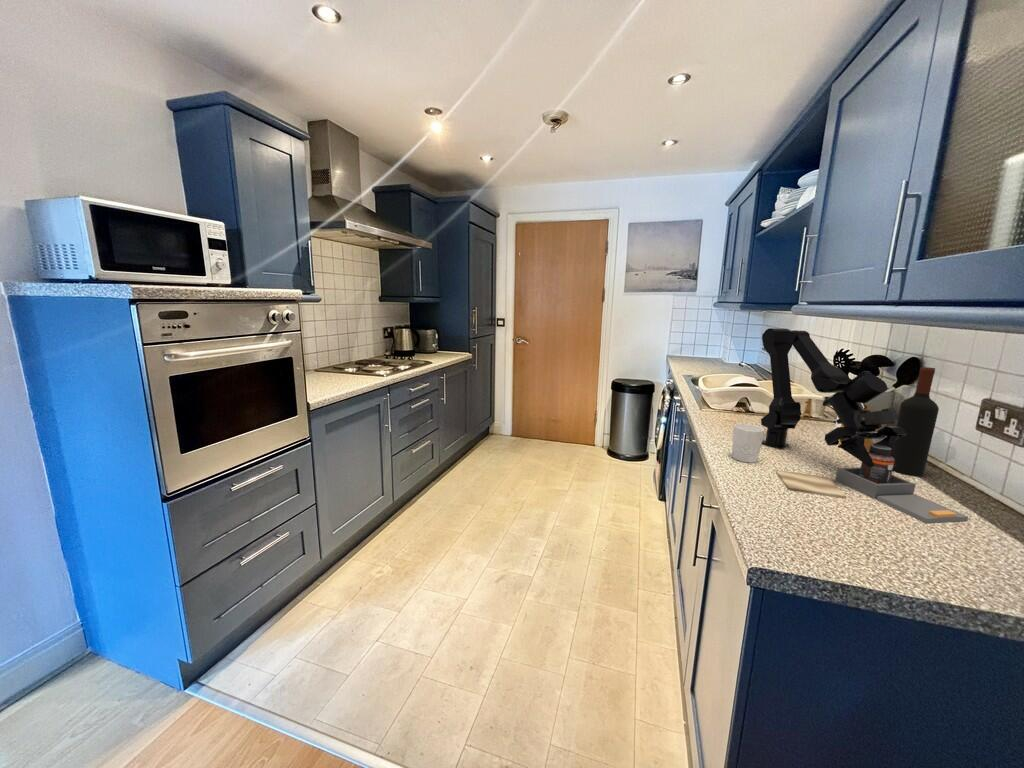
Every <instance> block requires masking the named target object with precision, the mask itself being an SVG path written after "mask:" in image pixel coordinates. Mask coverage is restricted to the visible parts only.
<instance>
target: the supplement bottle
mask: <svg viewBox="0 0 1024 768" xmlns="http://www.w3.org/2000/svg"><path fill="white" fill-rule="evenodd" d="M867 451H868V453H869V455H870V457H871V459H872V461H873V464H874V466H873V467H868V466H867V465H866V464H864V463H863V462H861V465H860V467H861V469H860V474H859V476H860V477H862V478H865V479H867V480H869V481H872V482H874V483H876V484H890V480H891V475H893V474H892V473H893V472H894V471H893V466H894V458H893V457H892V456H891V455H890V454H891V448H890V447H887V446H883V445H877V444H874V443H873V444H870V447H869V450H867Z"/></svg>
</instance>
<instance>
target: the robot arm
mask: <svg viewBox="0 0 1024 768" xmlns="http://www.w3.org/2000/svg"><path fill="white" fill-rule="evenodd" d="M761 341H762V346H763V348H764V350H765V351H766V353H767V354H768V355H769V359H770V370H771V371H770V372H771V381H772V383H771V384H772V392H773V399H772V400H771V402H770V404H769V406H768V413H767V414H766V415H763V417H761V418H760V423H761V427H765V428H766V435H765V440H762V444H761V445H765V444H766V445H765V446H769V445H770V447H773V448H777V449H785V448H787V447H789V446H790V443H787V438H788V431H789V430H790V429H792V430H795V428H796V427H797V425H798V422H800V420H801V416H802V415H803V413H802V409H801V405H802V404H801V402H799V401H795V400H794V398H793V396H792V387H791V386H792V385H791V374H790V364H789V353H790V351H791V349H792V347H794V350H795V351H796V352H797V353H798V354H799V356H800V358H801V359H802V360H803V362H804V363H805V364H806V366H807V368H808V369H809V370H810V373H811V375H810V379H811V382H812V384H813V386H814V388H815V390H816V391H817V392H819V393H822V394H832V395H830V396H825V397H824V401H823V402H822V406H823V407H831V408H832V409H833V411H834V413H835V414H836V416H837V419H836V420H835V422H836V424H837V425H842V426H838V427H836V428H834V429H832V430H831V431H829V432H827V433H826V434H824V441H825V443H826V445H827V446H829V447H830V446H837V448H839V449H842V450H844V451H845V452H846V453H848V454H850V455H851V456H852V457H854V458H856V459H857V460H859V461H860V462H861V463H862V462H863V463H864V464H866V465H867V466H868V467H873V466H874V464H873V461H872V459H871V457H870V455H869V453H868V451H869V450H867V448H866V446H865V440H871V441H872V442H873V444H877V445H883V446H887V447H890V448H891V454H890V455H891V456H892V457H893V458H894V466H896V461H895V455H894V446H893V445H894V442H895V440H897V439H899V438H901V437H903V436H905V435H907V434H906V432H905V431H904V429H903V428H902V427H898V426H896V425H893V424H896V423H897V420H898V419H899V412H897V410H896V409H895V408H893V407H887V408H882V409H881V410H874V411H871V410H869V409H865V410H864V408H863V407H862V405H861V404H867V403H870V401H872V400H873V399H875V398H877V397H879V396H880V395H882V394H883V393H885V392H887V391H888V385H887V383H886V382H885V380H882V378H880V377H878V376H877V375H875V374H873V373H872V372H871V371H868V370H867V371H866V370H863V371H861V372H860V373H858V374H857V376H856V377H854V378H850V376H849V375H847V374H846V373H845V372H844V371H843V370H842V369H841V368H839V367H838V366H835V365H833V364H832V363H831V362H830V361H829V360H828V359H827V358H826V356H825V355H824V353H823V352H822V351H821V349H820V348H819V347H818V345H816V343H815V342H814V340H813V339H812V337H811V335H810V333H809V332H808V331H806V330H798V329H796V330H790V329H789V328H780V327H779V328H771V327H770V328H769V327H768V328H767V329H766V330H764V332H763V333H762V336H761ZM887 424H891V425H890V426H889V425H887ZM882 425H887V426H884V427H882ZM880 428H881V429H880ZM876 430H877V431H876ZM839 443H840V444H839ZM894 466H893V467H894Z"/></svg>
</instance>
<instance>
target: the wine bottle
mask: <svg viewBox="0 0 1024 768" xmlns="http://www.w3.org/2000/svg"><path fill="white" fill-rule="evenodd" d="M935 372H936V368H935V367H929V366H921V367H920V369H919V375H918V380H917V384H916V388H915V393H914V394H913V395H912V396H910V397H908V398H905V399H904V400H903V401H902V402H901V403H900V405H899V409H898V414H899V419H898V420H896V423H895V426H898V427H902V428H903V429H904V431H905V432H906V434H907V435H905V436H903V437H901V438H899V439H897V440H895V442H894V445H893V446H894V455H895V461H896V466H894V467H893V471H892V472H894V471H895V472H894V473H897V474H900V473H901V475H904V474H905V476H909V475H910V477H922V476H924V475H925V474H924V473H925V471H926V466H927V462H928V461H927V460H928V457H929V454H930V453H929V452H930V448H931V444H932V439H933V436H934V433H935V428H936V422H937V419H938V415H939V408H940V407H939V406H938V404H937V402H935V401H934V400H933V399H931V397H930V392H931V389H932V384H933V380H934V376H935Z"/></svg>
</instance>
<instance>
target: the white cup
mask: <svg viewBox="0 0 1024 768" xmlns="http://www.w3.org/2000/svg"><path fill="white" fill-rule="evenodd" d="M732 432H733V433H732V445H731V446H732V447H731V448H732V449H731V451H732V452H731V457H732V458H733V459H734V460H736V461H738V460H739V461H738V462H742V463H747V462H749V464H750V463H751V464H752V463H753V464H754V463H757V462H758V460H759V454H760V451H761V447H762V445H763V444H762V441H763V437H764V432H765V428H764V427H763V426H759V425H755V424H750V423H735V424H733V431H732Z"/></svg>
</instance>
